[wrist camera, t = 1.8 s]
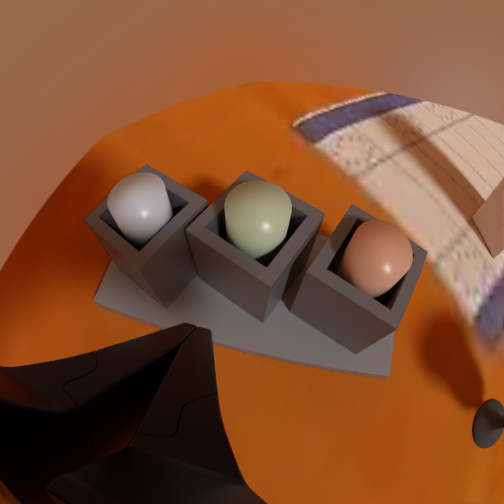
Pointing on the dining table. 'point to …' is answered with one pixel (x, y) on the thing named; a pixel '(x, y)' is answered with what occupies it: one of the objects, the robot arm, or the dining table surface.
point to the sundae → (488, 423)
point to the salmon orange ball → (375, 258)
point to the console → (254, 285)
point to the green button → (257, 219)
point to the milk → (492, 221)
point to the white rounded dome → (140, 207)
